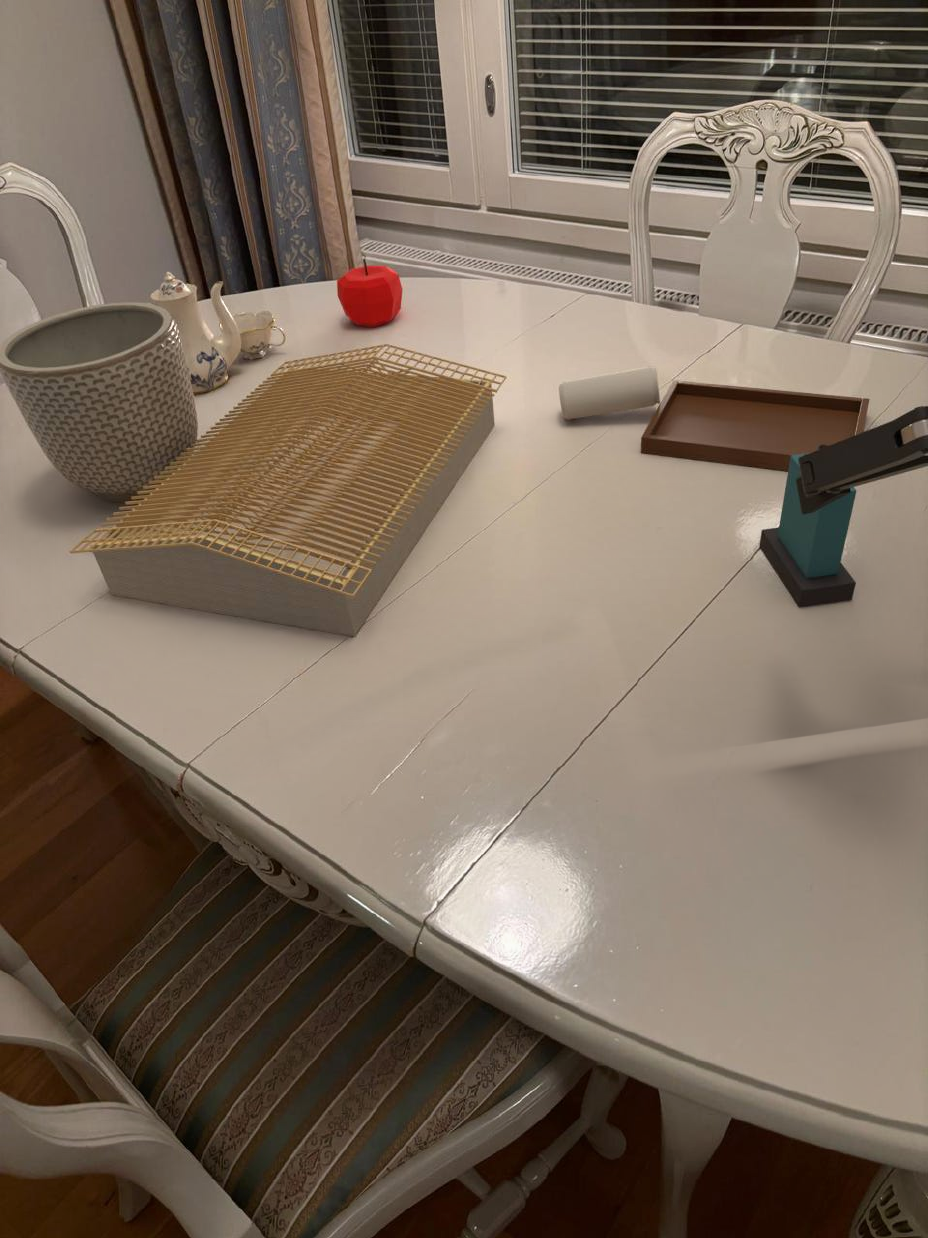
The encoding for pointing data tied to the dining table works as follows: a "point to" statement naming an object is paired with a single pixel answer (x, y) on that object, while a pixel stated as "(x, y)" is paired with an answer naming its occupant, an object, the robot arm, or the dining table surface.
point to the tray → (749, 424)
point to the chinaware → (202, 348)
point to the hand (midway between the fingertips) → (891, 484)
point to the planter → (105, 394)
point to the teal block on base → (810, 546)
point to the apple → (370, 294)
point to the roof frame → (265, 582)
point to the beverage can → (609, 393)
